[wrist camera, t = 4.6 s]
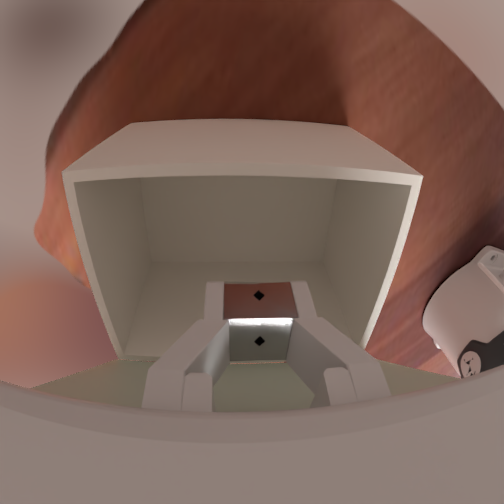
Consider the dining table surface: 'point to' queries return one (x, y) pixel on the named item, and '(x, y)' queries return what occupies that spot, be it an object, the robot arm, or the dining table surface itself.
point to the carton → (236, 221)
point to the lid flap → (224, 385)
